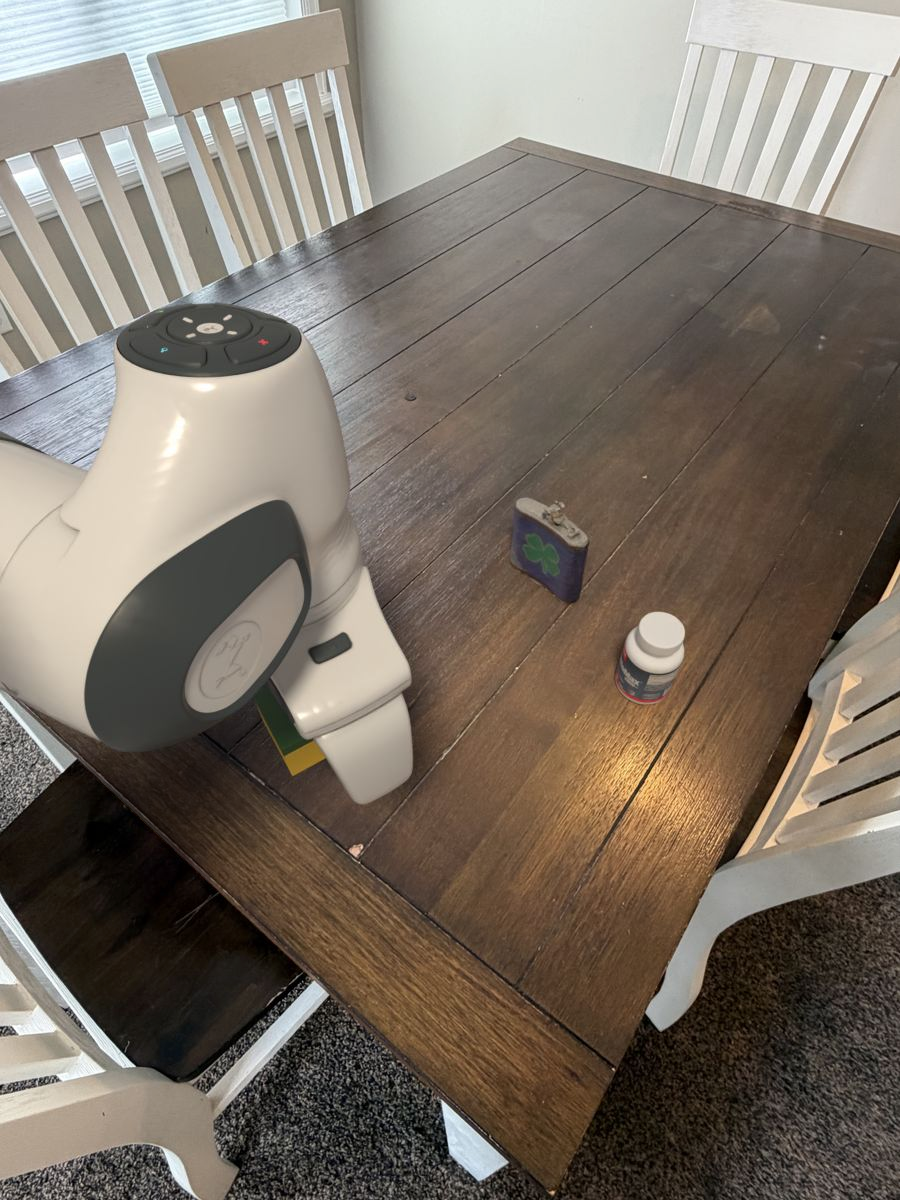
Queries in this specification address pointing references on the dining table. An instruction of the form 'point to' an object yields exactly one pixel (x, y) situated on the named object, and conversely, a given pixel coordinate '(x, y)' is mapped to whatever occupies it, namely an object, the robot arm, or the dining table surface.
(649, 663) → the pill bottle
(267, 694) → the sponge
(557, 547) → the flask
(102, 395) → the dining table surface
